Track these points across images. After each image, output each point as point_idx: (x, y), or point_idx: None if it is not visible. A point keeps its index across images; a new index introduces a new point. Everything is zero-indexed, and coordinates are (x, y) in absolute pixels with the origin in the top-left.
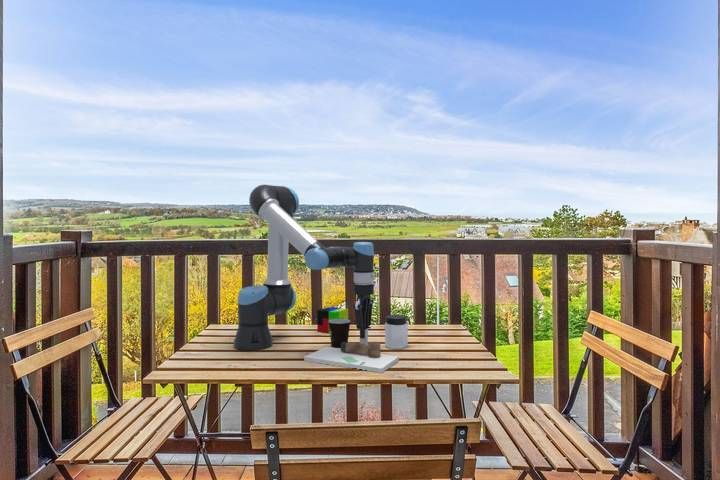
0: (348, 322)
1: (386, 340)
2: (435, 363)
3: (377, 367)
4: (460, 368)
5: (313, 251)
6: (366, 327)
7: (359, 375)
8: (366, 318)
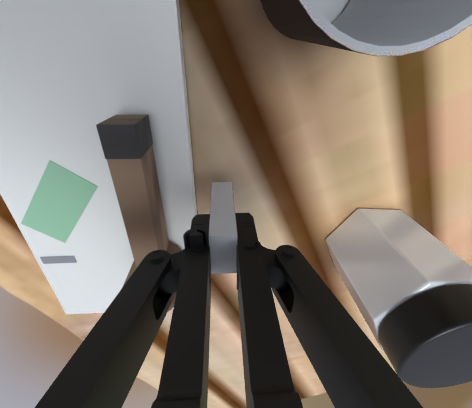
0: (375, 55)
1: (362, 231)
2: (229, 353)
3: (64, 303)
4: (219, 384)
5: None
6: (237, 271)
7: (3, 269)
8: (241, 332)
